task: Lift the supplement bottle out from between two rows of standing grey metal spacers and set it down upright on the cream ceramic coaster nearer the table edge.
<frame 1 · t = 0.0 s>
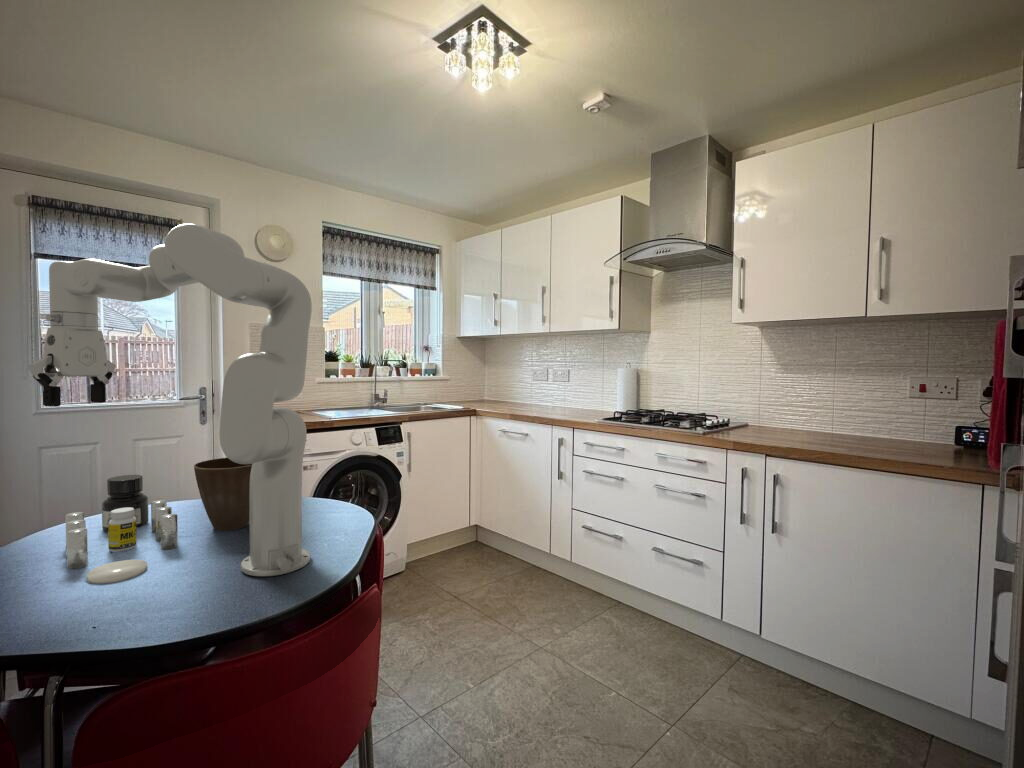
hand: (76, 404, 104), 31 cm above the table, tool pointing down, fingers open, 9 cm apart
supplement bottle: (122, 549, 107), on the table
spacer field: (122, 546, 108), on the table
coaster: (117, 573, 95), on the table
ink bottle: (126, 527, 121), on the table
plant pot: (230, 527, 122), on the table
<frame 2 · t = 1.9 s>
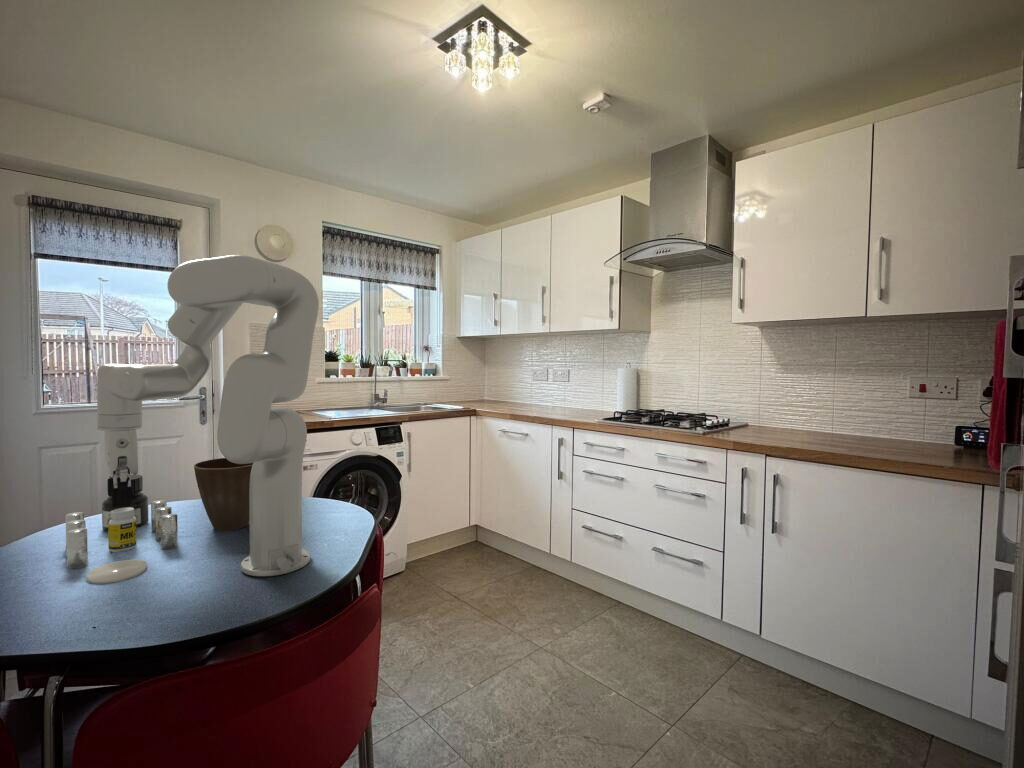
hand: (119, 500, 107), 10 cm above the table, tool pointing down, fingers open, 9 cm apart
nothing on the table moved.
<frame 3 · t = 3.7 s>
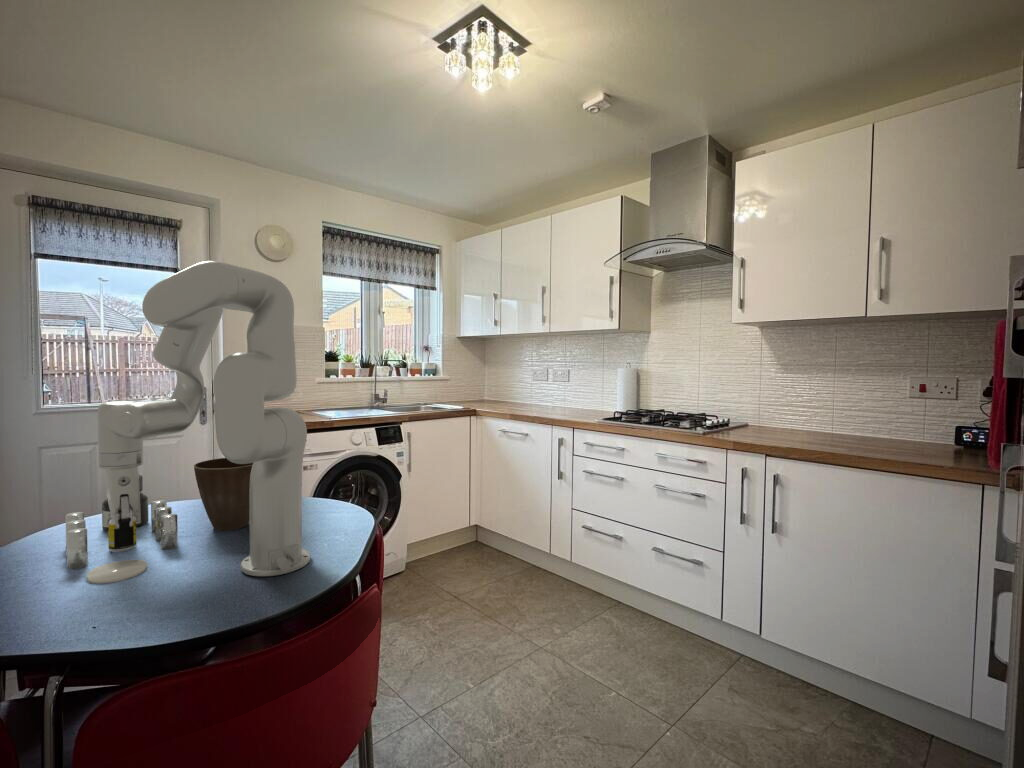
hand: (122, 541, 107), 1 cm above the table, tool pointing down, fingers closed on supplement bottle, 4 cm apart
supplement bottle: (122, 549, 107), on the table, touching gripper
everything else where it was.
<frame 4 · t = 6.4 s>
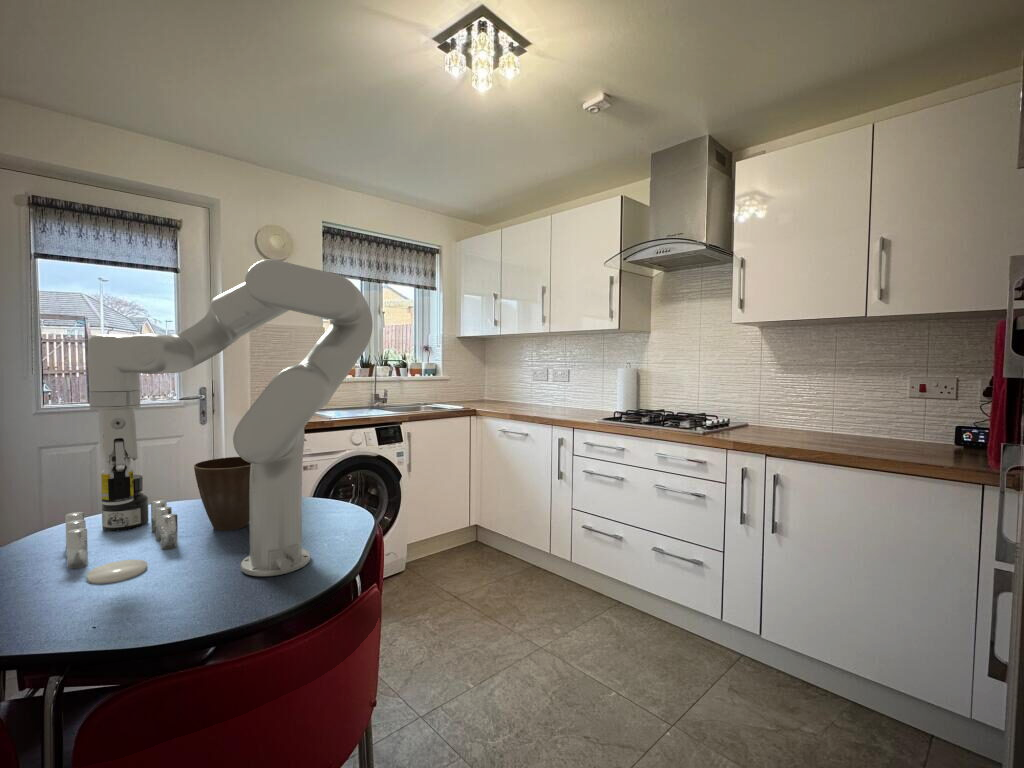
hand: (118, 494, 94), 15 cm above the table, tool pointing down, fingers closed on supplement bottle, 4 cm apart
supplement bottle: (118, 503, 94), point 13 cm above the table, touching gripper
everything else where it was.
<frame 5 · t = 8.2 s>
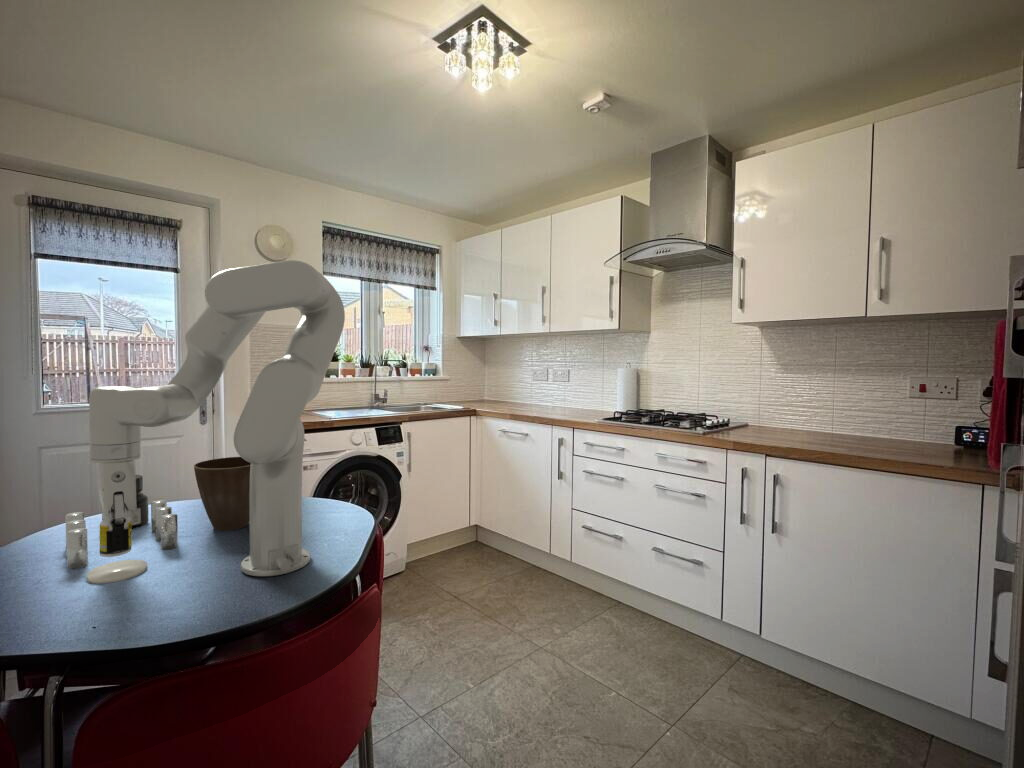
hand: (116, 545, 94), 5 cm above the table, tool pointing down, fingers closed on supplement bottle, 4 cm apart
supplement bottle: (115, 553, 94), point 4 cm above the table, touching gripper
everything else where it was.
when the fingers open (4 cm above the table, at t = 9.3 s): supplement bottle drops 2 cm, resting on coaster.
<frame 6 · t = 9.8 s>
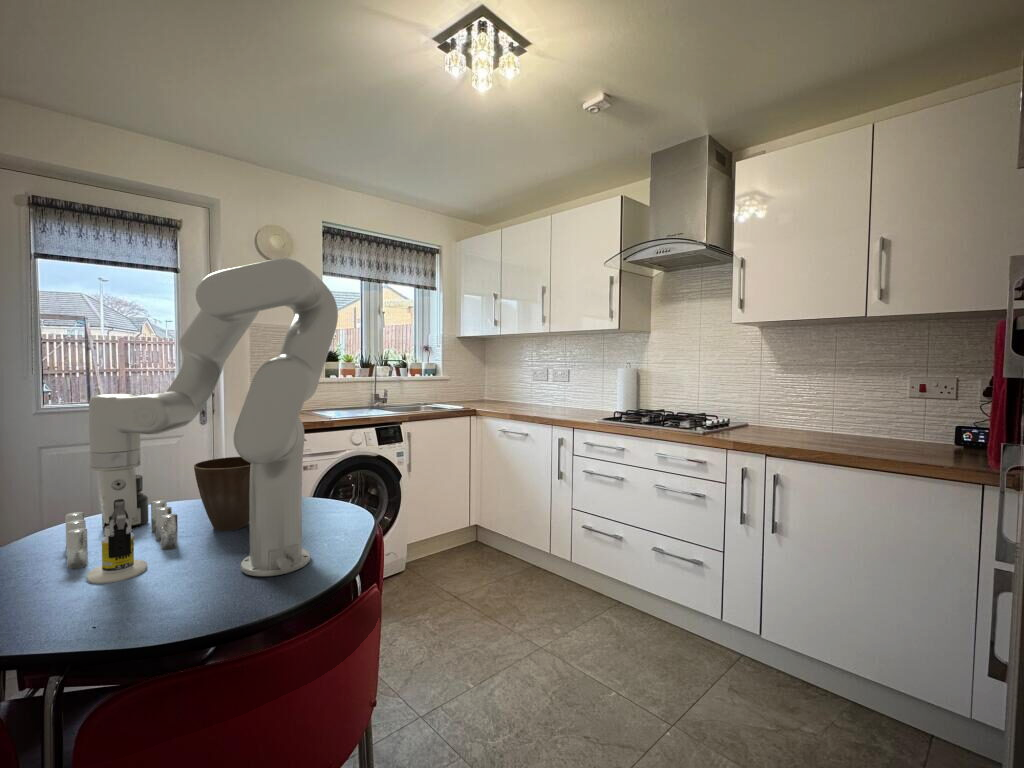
hand: (117, 548, 94), 5 cm above the table, tool pointing down, fingers open, 9 cm apart
supplement bottle: (118, 570, 95), point 1 cm above the table, touching coaster
everything else where it was.
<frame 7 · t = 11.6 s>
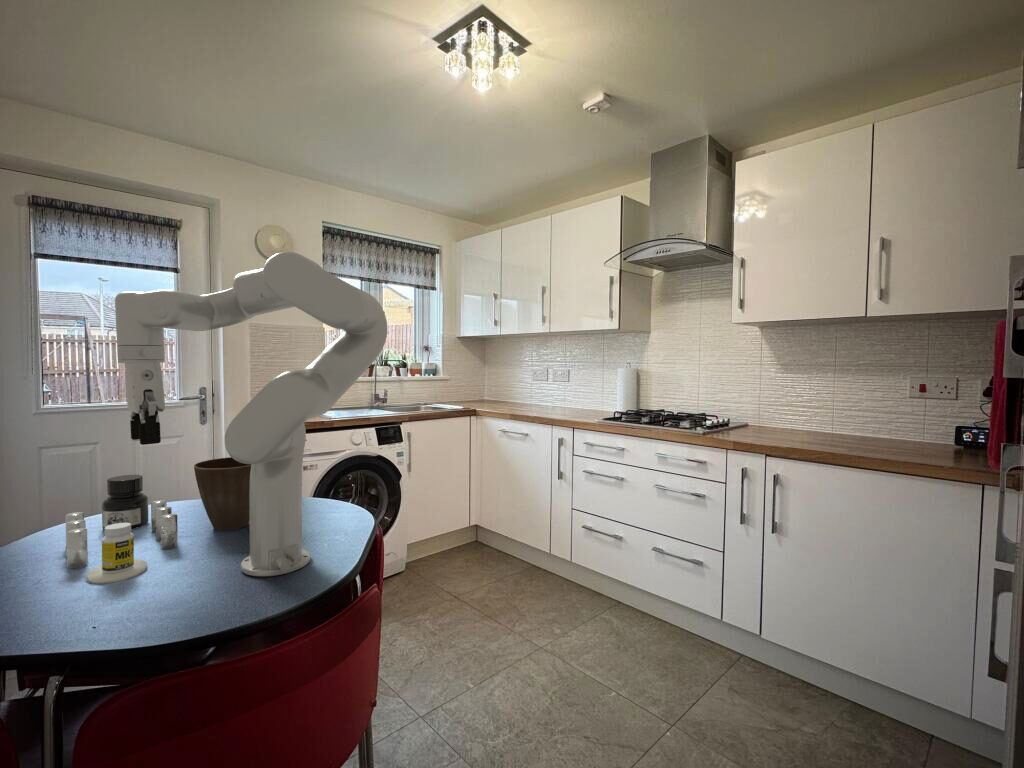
hand: (145, 441, 99), 25 cm above the table, tool pointing down, fingers open, 9 cm apart
nothing on the table moved.
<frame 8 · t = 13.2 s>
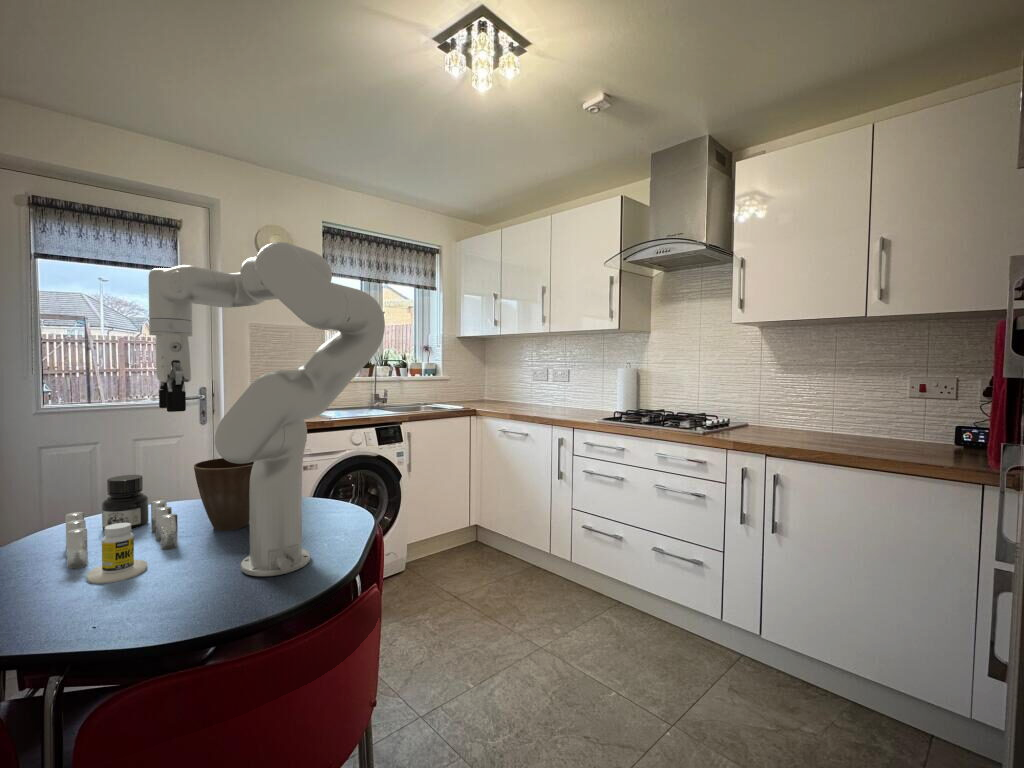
hand: (172, 409, 105), 30 cm above the table, tool pointing down, fingers open, 9 cm apart
nothing on the table moved.
at the end: supplement bottle inside the target area on the coaster (0.2 cm from its centre), point 0.6 cm above the coaster's base; supplement bottle tilted 0°; the gripper is holding nothing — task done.
